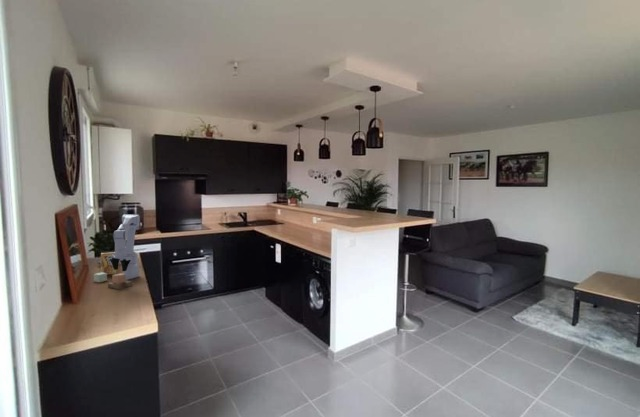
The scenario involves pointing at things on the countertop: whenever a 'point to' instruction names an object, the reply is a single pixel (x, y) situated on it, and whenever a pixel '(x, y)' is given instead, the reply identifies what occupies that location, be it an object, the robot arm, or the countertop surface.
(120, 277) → the terracotta cube
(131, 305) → the countertop surface
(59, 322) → the countertop surface
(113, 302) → the countertop surface
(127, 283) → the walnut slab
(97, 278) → the sage cube
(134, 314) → the countertop surface
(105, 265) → the candy box
